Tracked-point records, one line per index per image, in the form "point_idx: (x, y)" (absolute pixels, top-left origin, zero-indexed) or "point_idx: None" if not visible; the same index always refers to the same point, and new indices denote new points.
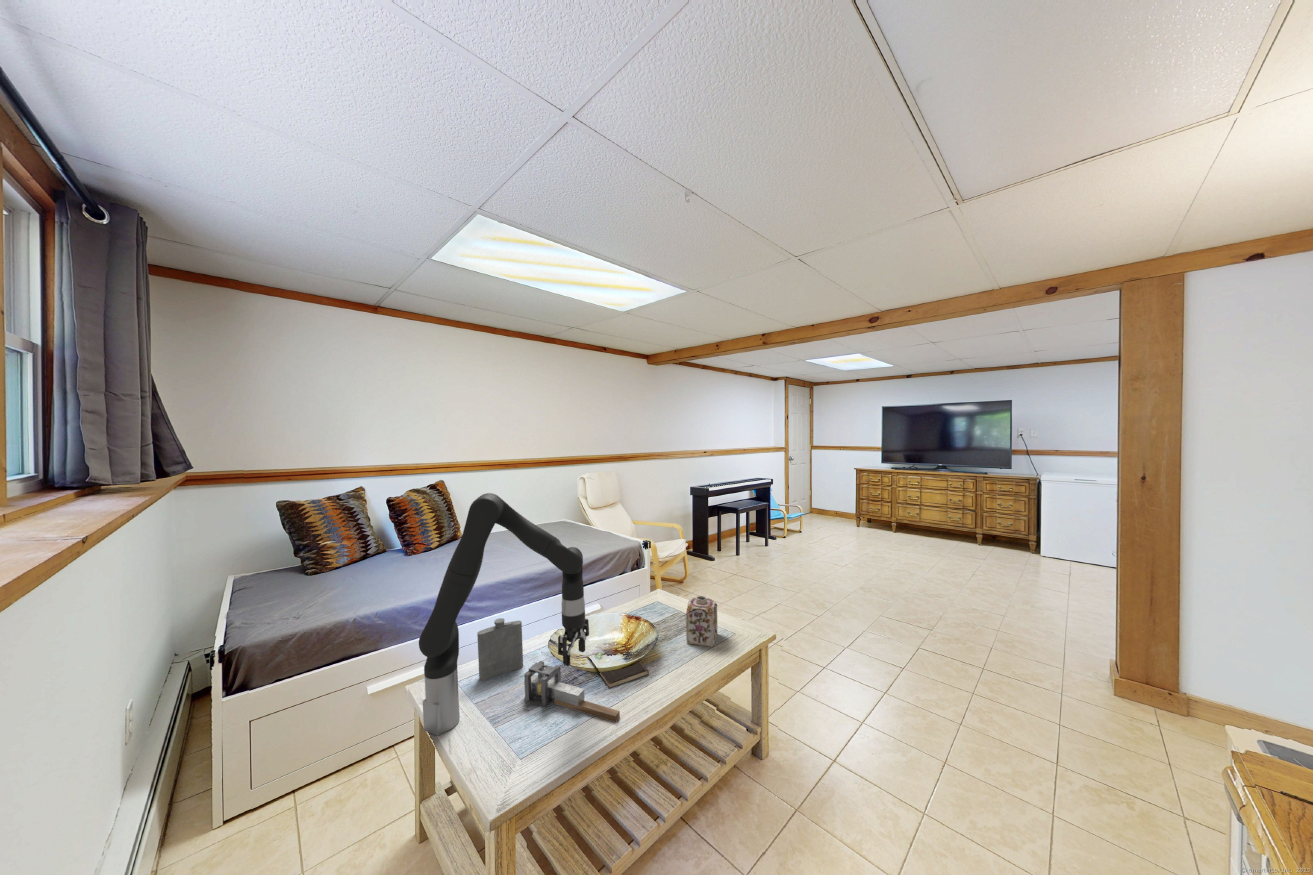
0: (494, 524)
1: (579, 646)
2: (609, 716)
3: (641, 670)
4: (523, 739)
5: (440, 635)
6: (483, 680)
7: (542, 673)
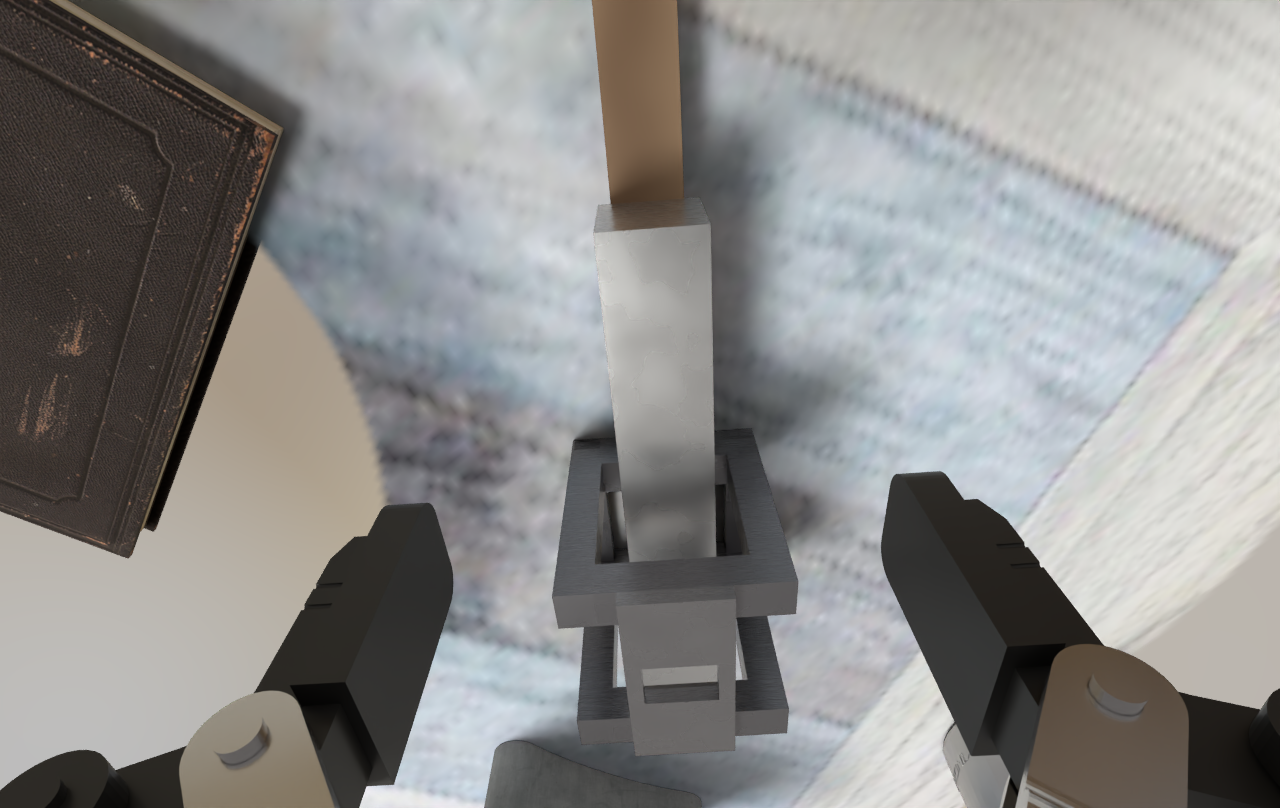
0: None
1: (427, 644)
2: None
3: None
4: (1057, 360)
5: None
6: (695, 795)
7: (734, 644)
